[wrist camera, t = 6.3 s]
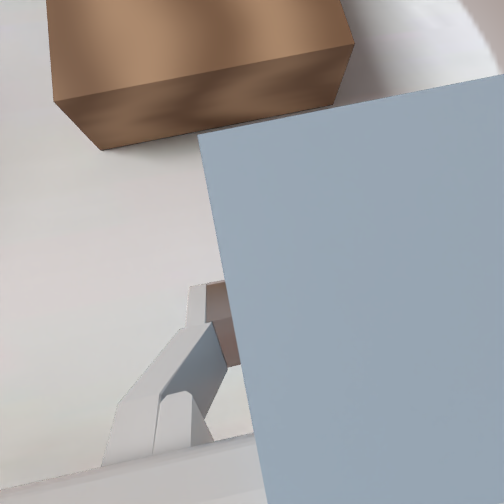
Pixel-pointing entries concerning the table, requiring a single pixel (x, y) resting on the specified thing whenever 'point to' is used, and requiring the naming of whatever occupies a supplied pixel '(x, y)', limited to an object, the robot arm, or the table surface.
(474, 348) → the slate-blue pillar block
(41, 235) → the table surface
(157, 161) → the table surface
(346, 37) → the walnut plinth
